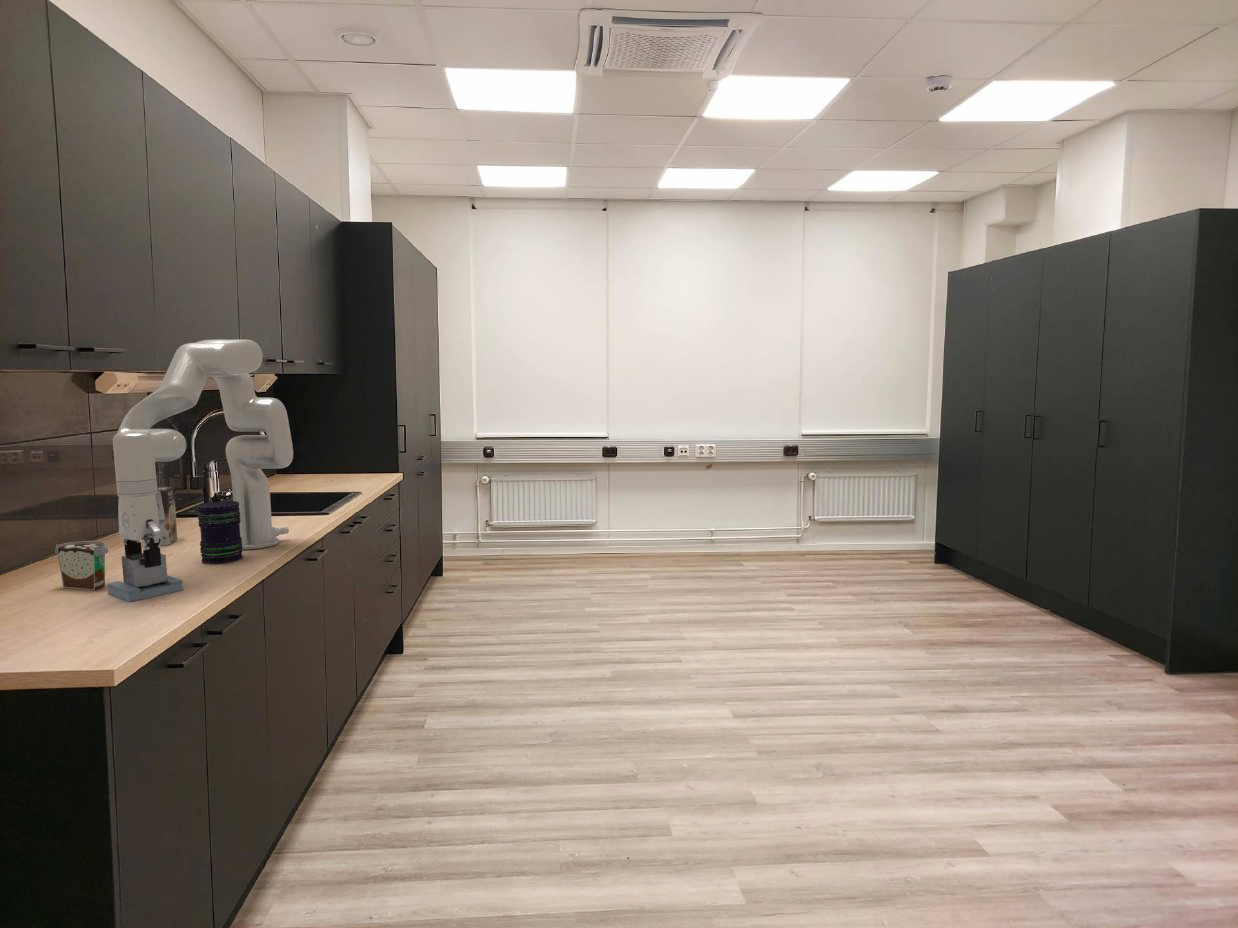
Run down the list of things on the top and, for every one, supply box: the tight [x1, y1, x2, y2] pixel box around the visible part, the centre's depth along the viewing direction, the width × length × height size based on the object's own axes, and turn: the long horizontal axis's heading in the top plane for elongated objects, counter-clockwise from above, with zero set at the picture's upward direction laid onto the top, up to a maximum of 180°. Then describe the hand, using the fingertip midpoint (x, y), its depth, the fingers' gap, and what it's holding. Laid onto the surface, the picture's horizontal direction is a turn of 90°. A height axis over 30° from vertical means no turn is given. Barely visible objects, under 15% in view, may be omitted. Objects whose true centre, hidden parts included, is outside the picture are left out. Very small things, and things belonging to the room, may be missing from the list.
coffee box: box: [147, 486, 178, 547], centre depth 219 cm, size 9×6×16 cm
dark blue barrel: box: [197, 500, 244, 565], centre depth 198 cm, size 10×10×15 cm
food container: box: [54, 540, 109, 591], centre depth 174 cm, size 12×6×10 cm, turn 74°
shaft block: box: [106, 574, 184, 603], centre depth 169 cm, size 11×11×8 cm
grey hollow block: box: [121, 552, 168, 587], centre depth 169 cm, size 7×7×6 cm
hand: (143, 563), depth 168 cm, fingers open, 9 cm apart
